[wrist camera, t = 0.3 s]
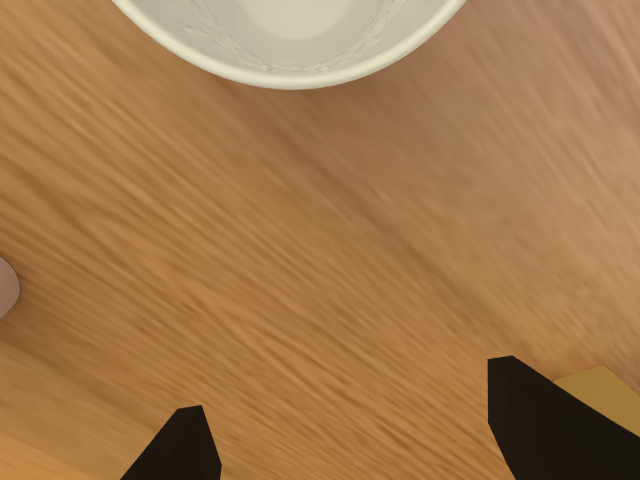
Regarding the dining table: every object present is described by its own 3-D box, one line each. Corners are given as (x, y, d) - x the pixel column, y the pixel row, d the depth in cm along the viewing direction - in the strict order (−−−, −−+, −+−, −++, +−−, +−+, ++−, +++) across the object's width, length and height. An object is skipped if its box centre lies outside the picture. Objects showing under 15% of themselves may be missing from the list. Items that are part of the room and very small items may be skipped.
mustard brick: (611, 424, 24) (686, 503, 19) (532, 448, 24) (587, 532, 20) (602, 363, 22) (682, 434, 18) (517, 390, 23) (573, 466, 18)
